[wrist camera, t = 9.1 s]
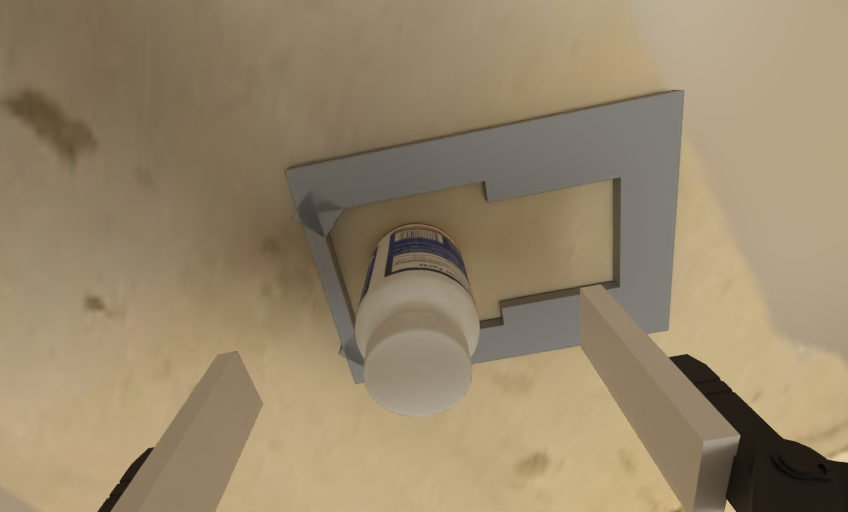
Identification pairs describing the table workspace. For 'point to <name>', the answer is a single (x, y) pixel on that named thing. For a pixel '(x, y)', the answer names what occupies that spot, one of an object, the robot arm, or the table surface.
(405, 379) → the pill bottle
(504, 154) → the keyhole board
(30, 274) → the table surface
